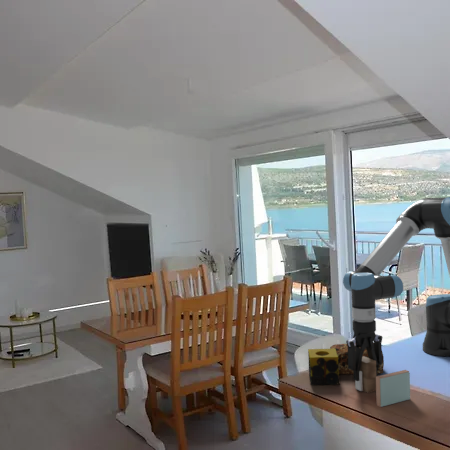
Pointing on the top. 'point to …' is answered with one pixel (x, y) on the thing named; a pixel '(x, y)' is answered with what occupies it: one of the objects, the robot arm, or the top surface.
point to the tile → (393, 388)
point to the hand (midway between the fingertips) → (365, 387)
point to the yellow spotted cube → (323, 367)
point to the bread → (343, 359)
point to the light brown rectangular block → (368, 374)
